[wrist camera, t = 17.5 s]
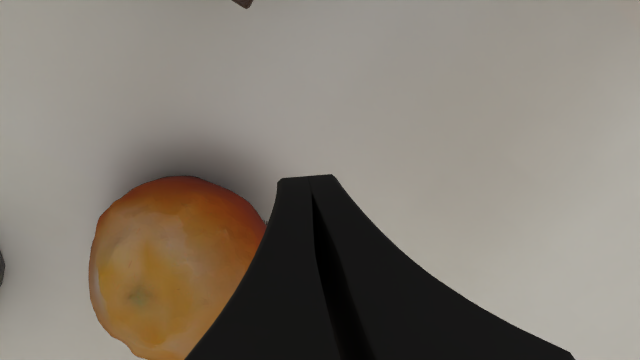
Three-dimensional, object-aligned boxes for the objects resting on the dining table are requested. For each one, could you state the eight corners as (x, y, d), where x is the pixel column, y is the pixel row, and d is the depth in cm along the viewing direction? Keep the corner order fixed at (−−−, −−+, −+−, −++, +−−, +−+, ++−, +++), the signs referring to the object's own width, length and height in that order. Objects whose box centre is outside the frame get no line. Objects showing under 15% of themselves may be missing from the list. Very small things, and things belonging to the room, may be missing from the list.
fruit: (242, 327, 26) (154, 434, 18) (143, 225, 26) (17, 289, 18) (340, 236, 23) (284, 318, 15) (228, 123, 23) (119, 149, 16)
